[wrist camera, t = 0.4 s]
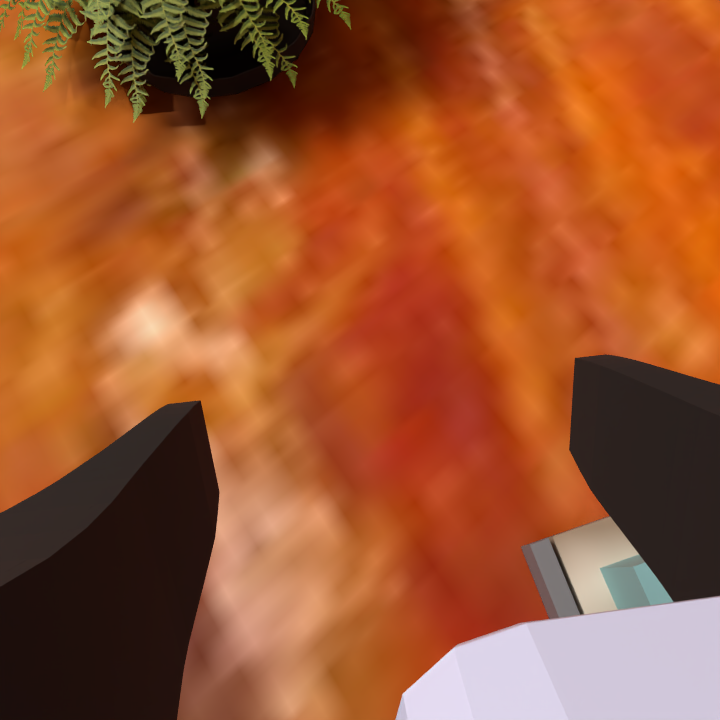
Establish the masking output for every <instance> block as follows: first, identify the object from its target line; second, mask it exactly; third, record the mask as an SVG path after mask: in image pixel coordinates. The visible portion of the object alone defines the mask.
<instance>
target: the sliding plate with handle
mask: <svg viewBox="0 0 720 720" xmlns="http://www.w3.org/2000/svg"><path fill="white" fill-rule="evenodd" d="M549 541H550V543H551V545H552V548H553V550H554V553H555V555H556V557H557V560H558V562H559V565H560V567H561V570H562V572H563V574H564V577H565V579H566V582H567V584H568V586H569V589H570V591H571V594H572V596H573V599H574V601H575V603H576V606H577V608H578V611H579V613H580V615H583V614H590V613H597V612H605V611H612V610H618V609H617V607H616V605H615V603H614V600H613V598H612V596H611V593H610V591H609V589H608V586H607V584H606V582H605V580H604V577H603V575H602V573H601V570H600V568H602V567H604V566H607V565H610V564H613V563H616V562H619V561H621V560H624V559H627V558H630V557H633V556H636V555H639V554H638V552H637V551H636V550H635V548H634V547H633V546H632V544H631V543H630V542H629V541H628V539H627V538H626V537H625V535H624V534H623V533H622V531H621V530H620V529H619V527H618V526H617V525H616V523H615V522H614V521H613V519H612V518H611V517H607V518H604V519H601V520H598V521H595V522H592V523H589V524H587V525H584V526H581V527H578V528H575V529H572V530H569V531H566V532H563V533H560V534H558V535H555V536H552V537H549Z"/></svg>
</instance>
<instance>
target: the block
mask: <svg viewBox="0 0 720 720" xmlns="http://www.w3.org/2000/svg"><path fill="white" fill-rule="evenodd" d="M600 570H601V573H602V575H603V577H604V580H605V582H606V584H607V586H608V589H609V591H610V593H611V596H612V598H613V600H614V603H615V605H616V607H617V609H618V610H619V609H627V608H634V607H641V606H649V605H656V604H663V603H671V602H673V600H672V599H671V597H670V596H669V595H668V593H667V592H666V590H665V589H664V587H663V586H662V584H661V583H660V582H659V580H658V579H657V577H656V576H655V575H654V573H653V572H652V571H651V569H650V568H649V567H648V566H647V564H646V563H645V562H644V560H643V559H642V558H641V556H640V555H636V556H633V557H630V558H627V559H624V560H621V561H619V562H616V563H613V564H610V565H607V566H604V567H602V568H600Z"/></svg>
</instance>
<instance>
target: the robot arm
mask: <svg viewBox="0 0 720 720" xmlns="http://www.w3.org/2000/svg"><path fill="white" fill-rule="evenodd" d="M569 450H570V452H571V454H572V456H573V458H574V460H575V462H576V464H577V466H578V468H579V470H580V472H581V473H582V475H583V477H584V479H585V481H586V482H587V484H588V486H589V488H590V489H591V491H592V492H593V494H594V495H595V496H596V498H597V499H598V501H599V502H600V503H601V505H602V506H603V507H604V509H605V510H606V511H607V513H608V514H609V515H610V517H611V518H612V519H613V521H614V522H615V523H616V525H617V526H618V527H619V529H620V530H621V531H622V533H623V534H624V535H625V537H626V538H627V539H628V541H629V542H630V543H631V544H632V546H633V547H634V548H635V550H636V551H637V552H638V554H639V555H640V556H641V558H642V559H643V560H644V562H645V563H646V564H647V566H648V567H649V568H650V569H651V571H652V572H653V573H654V575H655V576H656V577H657V579H658V580H659V582H660V583H661V584H662V586H663V587H664V589H665V590H666V592H667V593H668V595H669V596H670V597H671V599H672V600H673V602H671V603H663V604H656V605H649V606H641V607H634V608H627V609H619V610H612V611H605V612H597V613H590V614H583V615H575V616H568V617H561V618H553V619H546V620H539V621H531V622H524V623H519V624H516V625H513V626H510V627H507V628H504V629H501V630H499V631H496V632H493V633H490V634H487V635H484V636H481V637H478V638H475V639H472V640H469V641H466V642H463V643H460V644H457V645H456V646H455V647H454V648H453V649H452V650H451V651H450V652H449V653H447V654H446V655H445V656H444V657H443V658H442V659H441V660H440V661H439V662H437V663H436V664H435V665H434V666H433V667H432V668H431V669H430V670H429V671H428V672H426V673H425V674H424V675H423V676H422V677H421V678H420V679H419V680H418V681H416V682H415V683H414V684H413V685H412V686H411V687H410V688H409V689H408V690H407V691H405V692H404V693H403V695H402V699H401V702H400V706H399V710H398V713H397V717H396V720H720V385H719V384H715V383H712V382H708V381H705V380H701V379H698V378H694V377H691V376H688V375H684V374H681V373H678V372H674V371H671V370H668V369H664V368H661V367H657V366H654V365H651V364H647V363H644V362H640V361H636V360H632V359H628V358H624V357H619V356H613V355H598V356H589V357H580V358H575V365H574V382H573V398H572V415H571V432H570V448H569ZM218 503H219V488H218V483H217V478H216V473H215V468H214V463H213V459H212V454H211V449H210V444H209V439H208V434H207V429H206V425H205V420H204V415H203V410H202V405H201V401H192V402H183V403H174V404H167V405H165V406H164V407H162V408H160V409H158V410H157V411H155V412H154V413H153V414H151V415H150V416H148V417H147V418H146V419H144V420H143V421H142V422H140V423H139V424H138V425H136V426H135V427H134V428H132V429H131V430H130V431H128V432H127V433H126V434H124V435H123V436H121V437H120V438H119V439H117V440H116V441H115V442H113V443H112V444H111V445H109V446H108V447H107V448H105V449H104V450H103V451H101V452H100V453H98V454H97V455H95V456H94V457H92V458H91V459H89V460H88V461H86V462H85V463H83V464H82V465H80V466H79V467H78V468H76V469H75V470H73V471H72V472H70V473H69V474H67V475H66V476H64V477H63V478H61V479H60V480H58V481H56V482H55V483H53V484H52V485H50V486H48V487H47V488H45V489H43V490H42V491H40V492H38V493H37V494H35V495H33V496H31V497H29V498H28V499H26V500H24V501H22V502H20V503H18V504H17V505H15V506H13V507H11V508H9V509H8V510H6V511H4V512H2V513H0V720H177V714H178V707H179V699H180V692H181V685H182V678H183V670H184V664H185V659H186V655H187V650H188V645H189V640H190V636H191V632H192V628H193V624H194V620H195V616H196V612H197V608H198V604H199V600H200V596H201V593H202V589H203V585H204V581H205V577H206V573H207V569H208V565H209V560H210V556H211V552H212V548H213V544H214V539H215V533H216V524H217V515H218Z"/></svg>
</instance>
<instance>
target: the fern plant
mask: <svg viewBox="0 0 720 720" xmlns="http://www.w3.org/2000/svg"><path fill="white" fill-rule="evenodd" d="M5 1H6V0H5ZM7 1H9V4H3V5H1V6H0V8H3V9H6V8H8V9H9V10H12V9H14V8H15V7H10V1H11V0H7ZM18 1H20V0H17V2H18ZM34 1H35V0H32V2H30V0H27V2H26V1H25V2H24V3H23V2H20V3H19V4H20V5H21V7H23V8H24V7H25V9H26V10H29V9H30V8H33V9H37V12H36V14H31V15H28V16H27V17H26V16H25V15H24V12H23V10H22V12H20V13H19V15H18V17H19V16H20V15H21V19H19V20H18V23H19V24H20V26H19V24H18V27H19V28H18V27H17V33H16V35H15V39H16V37H17V36H18V37H19V33H18V30H19V29H20V34H21V21H22V14H23V16H24V17H25V18H24V19H23V21H24V20H34V23H31V24H27V25H25V26H24V27H23V22H22V27H23V28H22V30H23V29H25V28H28V29H31V28H32V31H31V33H30V34H28V36H27V37H26V39H25V41H26V40H27V39H28V38H30V37H31V35H34V36H37V35H39V33H40V32H39V33H38V34H36V33H35V32H33V26H34V27H41V26H42V25H43V24H45V22H44V23H42V24H37V23H36V20H35V17H37V18H38V19H37V20H38V21H40V22H41V21H44V19H45V16H46V15H49V13H50V10H53V9H54V8H55V10H57V9H58V10H60V9H62V11H63V10H64V13H62V15H61V14H59V13H58V14H55V13H54V14H53V15H49V18H48V21H47V24H46V26H43V27H44V28H45V29H46V30H49V31H51V32H53V33H56V32H57V33H59V30H60V31H61V32H62V33H63V36H64V35H65V37H67V39H66V41H63V40H62V39H61V38H62V37H61V36H60V35H59V34H58V35H57V37H55V38H51V39H48V40H46V41H45V42H44V43H43V44H45V43H46V44H50V43H52V44H53V43H54V44H55V46H54V47H49V48H46V49H45V50H44V51H43V52H42V53H44V52H47V51H48V52H53V56H52V57H50V58H49V59H48V60H47V62H46V64H47V63H49V61H53V57H54V58H55V59H60V58H61V57H62V56H61V57H58V56H57V55H55V53H54V49H55V50H56V51H57V50H58V51H60V50H63V49H65V48H66V47H67V46H64V47H58V46H57V43H56V41H57V40H58V42H59V43H60V44H62V45H64V44H66V43H67V40H68V38H71V37H72V34H73V33H76V32H77V25H78V26H79V25H80V26H81V25H83V24H84V22H83V23H82V24H81V23H80V21H79V19H78V18H77V15H75V12H73V11H74V10H75V9H74V8H71V7H70V6H71V5H72V4H73V3H72V0H68V3H67V1H66V3H65V2H64V1H63V0H44V2H45V3H46V4H47V7H48V9H50V10H49V11H47V9H46V7H45V5H44V3H43V2H42V0H40V1H39V2H36V3H35V2H34ZM75 1H76V0H75ZM77 1H78V0H77ZM79 1H80V2H79ZM79 1H78V3H79V4H80V3H81V4H82V5H81V4H80V6H81V7H82V6H83V7H84V8H85V9H84V8H83V9H84V10H85V11H79V12H81V13H82V14H83V15H85V21H86V17H89V18H90V19H93V20H94V23H96V24H94V26H95V27H93V28H92V29H90V30H91V35H90V41H87V43H90V44H91V46H92V44H98V45H99V44H100V45H103V44H107V40H108V41H109V42H110V43H111V44H112V46H113V47H112V46H110V45H109V44H107V48H106V49H103V50H101V51H100V52H98V53H97V54H95V56H94V57H93V58H92V60H93V59H94V58H98V57H99V58H100V57H101V56H104V55H107V58H106V59H103V60H101V61H99V62H98V63H97V64H96V66H95V67H94V68H96V67H98V66H100V65H105V64H107V66H108V68H107V69H106V70H104V73H103V74H102V76H101V80H102V78H103V77H104V75H105V74H107V73H109V76H108V77H107V78H106V79H105V82H104V83H103V85H104V87H105V88H109V89H105V93H106V94H105V95H106V96H107V97H105V98H106V99H105V100H106V101H105V104H106V105H108V102H109V101H110V99H111V97H112V95H113V92H112V91H111V89H110V87H111V88H113V87H114V88H115V86H114V84H113V83H112V80H111V79H110V77H112V78H114V79H116V80H118V81H120V79H118V78H116V77H115V76H113V75H112V74H111V73H110V72H109V69H111V70H115V69H117V68H118V66H119V65H118V66H117V67H113V66H110V65H109V64H108V61H110V62H111V61H114V60H115V61H122V62H121V64H120V66H121V65H122V64H123V63H124V64H126V65H127V67H126V68H124V69H123V70H121V71H120V73H119V74H118V76H119V75H120V74H125V73H126V72H130V71H132V73H133V74H132V75H130V76H127V77H126V78H124V79H123V80H122V82H121V83H120V85H121V84H123V83H124V82H126V81H131V80H132V86H131V88H130V90H129V92H128V96H129V94H130V93H131V91H132V90H133V89H134V90H135V93H133V95H132V98H131V99H130V101H131V102H132V103H137V104H134V105H132V106H133V108H134V109H133V110H134V111H135V112H133V113H134V114H133V115H134V116H133V117H134V121H135V120H136V118H137V117H138V116H139V115H140V114H139V112H140V113H141V111H142V107H143V106H145V104H144V102H145V101H146V102H147V100H146V98H145V97H144V95H147V96H149V95H148V93H147V92H146V90H145V89H144V88H143V84H145V85H147V86H151V85H152V86H154V87H156V88H157V89H159V90H161V91H163V92H166V93H172V94H178V95H184V96H190V97H194V98H195V99H201V100H198V101H197V103H198V104H199V107H202V108H199V109H200V113H201V119H202V116H203V115H204V113H205V111H206V110H205V109H206V107H207V105H208V103H207V102H206V101H205V99H206V97H208V98H209V97H214V96H223V95H232V94H238V93H240V92H243V91H245V90H248V89H250V88H252V87H255V86H257V85H260V84H262V83H265V82H267V81H270V80H272V79H273V78H274V77H275V76H276V75H278V74H279V73H280V72H281V71H287V70H288V69H289V68H291V67H292V65H293V66H295V67H297V66H296V65H294V64H292V63H293V62H294V61H295V60H296V59H297V58H298V57H299V55H300V53H301V52H302V50H303V48H304V47H305V45H306V43H307V42H308V40H309V38H310V37H311V35H312V33H313V26H314V18H315V9H316V3H317V8H318V6H319V3H320V1H321V0H317V2H316V3H315V0H94V2H93V0H88V1H87V0H79ZM95 1H96V2H95ZM330 1H332V2H333V9H334V14H339V13H340V12H342V13H341V14H340V16H339V17H341V16H342V17H341V18H343V20H345V19H346V18H347V19H346V20H345V21H344V22H346V24H347V25H348V26H349V27H350V29H351V25H350V22H349V21H350V20H349V19H350V18H348V17H350V16H349V15H350V14H349V13H347V12H344V11H341V10H343V7H345V8H348V7H346V6H343V5H340V4H338V3H336V4H335V2H336V1H339V0H327V5H328V6H327V7H328V10H329V12H331V11H330ZM17 2H15V0H12V2H11V3H12V4H13V5H16V3H17ZM71 3H72V4H71ZM51 4H52V5H51ZM70 4H71V5H70ZM334 5H336V8H334ZM27 6H28V7H30V8H28V7H27ZM38 6H39V7H40V8H41V9H40V10H41V11H42V12H43V14H45V16H44V18H42V17H41V16H40V12H38ZM339 7H341V8H339ZM65 8H66V9H67V8H68V9H67V10H68V11H69V13H70V15H71V16H72V18H73V20H72V21H73V22H74V21H75V23H76V24H75V23H74V24H75V25H76V29H75V30H74V29H73V25H72V24H71V22H70V20H69V19H68V18H67V16H66V15H67V14H66V11H65ZM99 9H100V10H99ZM337 9H340V10H339V11H338V12H336V11H337ZM90 10H91V11H90ZM94 10H98V12H94ZM60 11H61V10H60ZM91 12H92V13H91ZM343 13H345V14H343ZM346 14H348V15H346ZM4 15H5V17H8V16H9V15H8V16H7V14H6V10H5V12H4V13H2V14H1V15H0V17H3V16H4ZM71 16H70V18H71ZM346 16H348V17H346ZM62 19H63V20H64V24H65V23H66V24H65V25H66V27H67V29H68V30H69V31H70V32H71V35H69V33H68V32H67V30H66V28H65V27H64V25H63V24H62V23H63V22H62ZM102 19H103V20H102ZM100 20H101V21H102V23H103V22H104V24H103V25H102V23H101V21H100ZM19 21H20V22H19ZM50 21H55V22H57V21H58V22H59V21H60V22H61V24H60V26H52V27H51V26H48V23H49V22H50ZM98 21H99V22H100V24H101V25H100V24H99V22H98ZM0 22H2V23H3V27H4V21H3V18H2V20H0ZM2 23H1V24H2ZM1 24H0V30H1ZM98 24H99V25H98ZM102 32H104V33H106V35H107V36H106V37H105V36H104V37H103V38H98V39H94V40H93V39H92V36H93V35H94V36H95V34H98V33H102ZM15 39H14V40H15ZM25 41H24V42H25ZM31 42H32V43H33V45H34V46H35V47H36V48H37V46H36V45H35V43H34V41H33V40H32V37H31V40H30V41H29V42H28V43H30V45H29V46H28V43H27V45H25V47H24V48H25V50H26V51H27V52H28V53H27V52H25V54H26V55H25V57H24V59H25V60H23V61H24V62H23V65H22V68H23V67H24V66H25V64H26V62H27V60H28V57H29V52H30V53H32V48H31V47H32V45H31ZM27 47H28V48H29V50H28V49H26V48H27ZM114 48H115V49H114ZM108 51H109V52H111V53H112V54H114V56H115V57H110V56H109V54H108ZM116 53H118V56H116ZM32 57H33V54H32ZM29 62H30V57H29ZM46 64H45V66H46ZM52 65H54V66H55V67H56V68H57V70H59V68H58V67H57V66H56V64H55V63H54V61H53V62H52V64H50V65H49V66H48V68H47V69H46V72H47V74H49V75H50V76H49V75H46V79H47V80H46V81H47V83H46V82H45V86H44V90H46V89H47V86H48V84H49V82H50V79H51V75H54V78H55V74H54V68H53V66H52ZM50 66H52V68H51V69H50V68H49V67H50ZM286 67H287V68H286ZM297 68H298V67H297ZM21 70H22V69H21ZM48 70H50V71H51V73H50V72H48ZM59 71H60V70H59ZM291 71H292V72H294V73H296V74H298V73H297V72H295V71H294V70H292V69H289V70H288V71H287V72H286V74H287V75H290V76H289V78H290V77H291V79H290V80H291V82H292V84H293V85H294V89H295V83H296V81H295V80H296V79H295V78H296V77H295V76H297V75H296V74H294V73H292V72H291ZM288 73H289V74H288ZM292 74H293V75H292ZM294 75H295V76H294ZM118 76H117V77H118ZM47 77H48V78H47ZM294 77H295V78H294ZM107 79H109V81H108V82H107ZM137 79H139V81H138V82H137V81H136V80H137ZM110 83H111V84H110ZM133 83H135V84H134V85H133ZM147 83H148V84H147ZM51 84H52V79H51V82H50V85H51ZM105 84H109V86H108V85H105ZM138 85H140V86H139V87H138ZM141 88H142V89H143V90H142V89H141ZM139 89H141V90H139ZM115 90H116V91H117V89H116V88H115ZM106 91H107V92H106ZM43 92H44V91H43ZM110 92H111V93H112V95H111V93H110ZM145 92H146V93H145ZM137 93H141V94H137ZM109 94H110V95H111V97H110V95H109ZM135 94H137V96H136V97H134V95H135ZM143 94H144V95H143ZM142 96H143V97H142ZM113 97H114V95H113ZM113 97H112V98H113ZM109 98H110V99H109ZM138 98H139V99H138ZM143 98H144V99H145V100H144V99H143ZM202 98H204V99H202ZM108 99H109V100H108ZM133 99H137V101H133ZM142 99H143V100H142ZM209 99H210V98H209ZM143 101H144V102H143ZM203 101H204V102H205V103H206V104H207V105H206V104H205V103H204V102H203ZM146 102H145V103H146ZM199 102H200V103H199ZM138 103H139V104H138ZM143 104H144V105H143ZM203 104H204V105H205V106H206V107H205V106H204V105H203ZM106 105H105V108H106ZM142 105H143V106H142ZM134 106H135V107H134ZM138 106H139V108H140V109H139V108H138ZM208 106H209V105H208ZM203 107H204V108H205V109H204V108H203ZM137 109H138V110H139V111H138V110H137ZM140 110H141V111H140ZM204 110H205V111H204ZM137 112H138V113H137ZM138 114H139V115H138ZM137 115H138V116H137ZM134 121H133V123H134Z"/></svg>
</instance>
